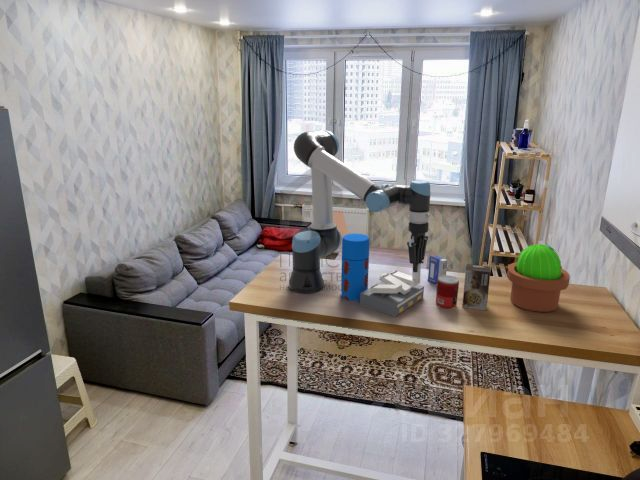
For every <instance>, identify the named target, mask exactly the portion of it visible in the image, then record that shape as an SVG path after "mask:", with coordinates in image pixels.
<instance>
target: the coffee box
mask: <svg viewBox="0 0 640 480" xmlns="http://www.w3.org/2000/svg"><path fill="white" fill-rule="evenodd" d="M491 271H492V270H491V266H489V265H479V264H478V265H477V264H470V263H469V264H467V263H466V266H465V271H464V273H465V274H464V284H463V294H462V295H463V297H462V306H461V308H463V309H471V310H479V311H487V310H488V308H487V306H488V297H489V290H490V289H489V288H490V279H491Z"/></svg>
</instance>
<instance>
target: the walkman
mask: <svg viewBox="0 0 640 480" xmlns="http://www.w3.org/2000/svg"><path fill="white" fill-rule="evenodd" d="M428 262H429V263H428V273H427V275H428V276H427V281H428V282H430V283H431V284H435V285H436V284H437V282H438V277H439V276H443V275H447V270H448V268H447V266H448V259H446V258H443V257H441V256H438V255H436V254H432V255H430V256H429V261H428Z"/></svg>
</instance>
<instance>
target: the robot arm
mask: <svg viewBox="0 0 640 480" xmlns="http://www.w3.org/2000/svg"><path fill="white" fill-rule="evenodd" d="M339 149H340V142H339V139H338V137H337V136H336V135H335V134H334V133H333V131H330V130H325V129H324V130H323V129H320V130H313V131H304V132H302V133H300V134H299V135H298V136H297V137H296V138H295V140H294V142H293V152H294V154H295V156H296V158H297V159H298V160H299V161H300V162H301V163H303V164H304V165H305V166H307V167H308V168H310V170H311V171H310V176H311V177H310V178H311V195H312V217H313V218H312V219H313V222H312V223H311V224H310V227H309V228H310V230H305V231H299V232H298V233H296V234H294V236H293V237H292V243H291V248H292V255H291V256H292V271H291V274H290V278H289V280H288V288H289V290H291V291H293V292H295V293H299V294H313V293H318V292H320V291H322V290H324V288H325V280H324V278H323V275H322V272H321V259H323V258H325V257H327V256H328V255H331V254H334V253H335V252H336V251H337V250H339V249H340V247H341V246H342V239H343V236H342V234H341V232H340V231H339V228H338V227H337V224H336V223H335V222H334V215H333V214H334V211H333V209H334V207H333V184H332V183H333V181H334V182H335V183H336V184H338V185H340V186H341V187H343V188H345V189H346V190H347V191H349V192H350V193H352V194H353V195H354V196H356V197H358V198H359V199H361V200H362V201H363V202H364V203H365V205H366V208H367V209H368V210H369V211H370V212H373V213H379V212H383V211H385V210H386V209H389V208H391V207H393V206H396V205H402V206H403V205H404V206H408V207H409V209H408V211H409V213H408V220H409V222H408V232H410V233H411V236H410V241H407V242H406V243H407V244H406V245H407V248H408V249H407V250H408V257H409V259H408V260H409V264H411V265H412V275H411V276H412V279H416V280H419V279H420V280H421V272H422V271H421V268H422V267H421V266H422V265H421V264H424V263H425V262H424V260H425V255H426V249H427V242H428V240H429V236H428V235H426V234H427V233H428V232H429V226H430V225H429V224H430V223H429V220H430V216H431V215H430V206H431V205H430V203H431V194H432V193H431V184H430V182H429V181H427V180H422V179H421V180H411V182H410V183H409V185H407V184H406V185H405V184H397V183H396V184H395V183H383V184H381V186H379V185H378V184H376V183H374V182H373V181H372V180H370V179H369V178H367V177H366V176H364V175H363V174H361V173H360V172H357V171H356V170H355V169H353V167H350V166H349V165H347V164H346V163H344V162H342V161H341V160H339V159H337V158H336V155H337V153H338V152H339ZM332 180H333V181H332Z"/></svg>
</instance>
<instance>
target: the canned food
mask: <svg viewBox="0 0 640 480" xmlns="http://www.w3.org/2000/svg"><path fill="white" fill-rule="evenodd" d="M459 284H460V279H459V278H458V277H456V276H452V275H447V274H446V275H443V276H439V277H438V282H437V285H436V293H435V294H436V295H435V303H436V306H438V307H439V308H441V309H454V308H455V307H456V306H457V305H458V294H459V287H460V285H459Z"/></svg>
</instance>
